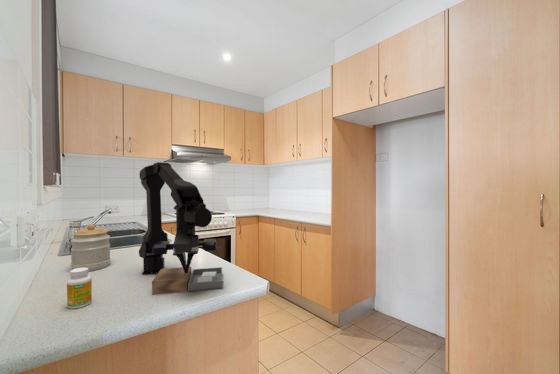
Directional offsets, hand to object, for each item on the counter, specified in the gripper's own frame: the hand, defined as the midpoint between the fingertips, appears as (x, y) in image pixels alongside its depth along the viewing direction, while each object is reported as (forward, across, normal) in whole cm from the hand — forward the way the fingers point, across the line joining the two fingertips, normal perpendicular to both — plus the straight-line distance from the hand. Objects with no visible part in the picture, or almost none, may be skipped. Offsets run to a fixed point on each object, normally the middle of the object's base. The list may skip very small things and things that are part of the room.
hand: (186, 272), depth 82 cm
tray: (+5, +6, +4) cm, 9 cm away
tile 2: (+2, +6, 0) cm, 6 cm away
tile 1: (+2, +7, +4) cm, 8 cm away
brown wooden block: (+5, -4, +3) cm, 7 cm away
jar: (+5, -40, +32) cm, 52 cm away
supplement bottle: (+5, -27, -5) cm, 28 cm away
